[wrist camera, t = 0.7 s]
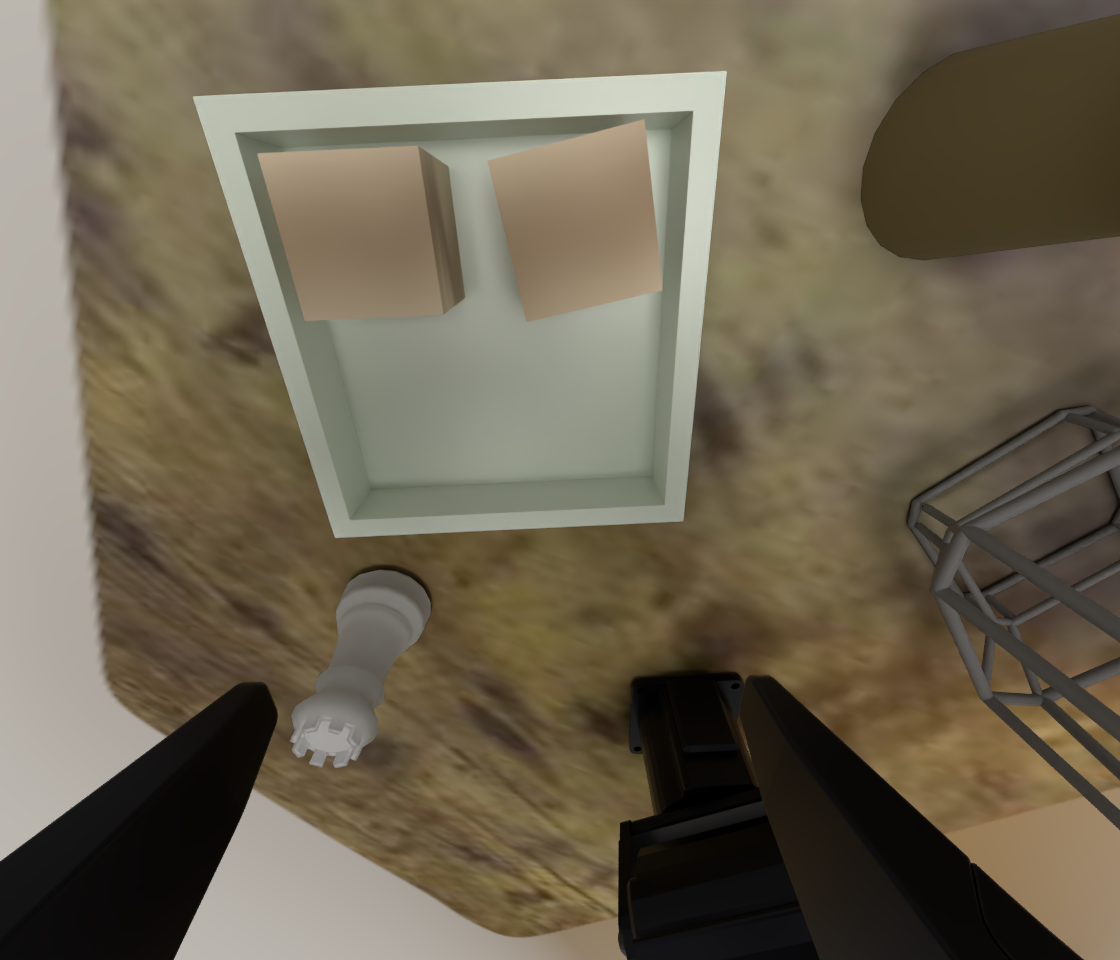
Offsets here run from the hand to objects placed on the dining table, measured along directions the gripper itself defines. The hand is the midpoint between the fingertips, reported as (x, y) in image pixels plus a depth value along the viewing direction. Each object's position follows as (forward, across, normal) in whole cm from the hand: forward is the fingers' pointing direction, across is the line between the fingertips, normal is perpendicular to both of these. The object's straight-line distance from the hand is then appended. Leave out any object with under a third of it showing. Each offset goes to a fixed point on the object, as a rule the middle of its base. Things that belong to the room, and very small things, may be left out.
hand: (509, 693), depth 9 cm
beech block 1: (+12, +4, -8) cm, 15 cm away
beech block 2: (+12, -2, -8) cm, 15 cm away
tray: (+13, +1, -4) cm, 14 cm away
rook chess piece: (+13, +8, +9) cm, 18 cm away
